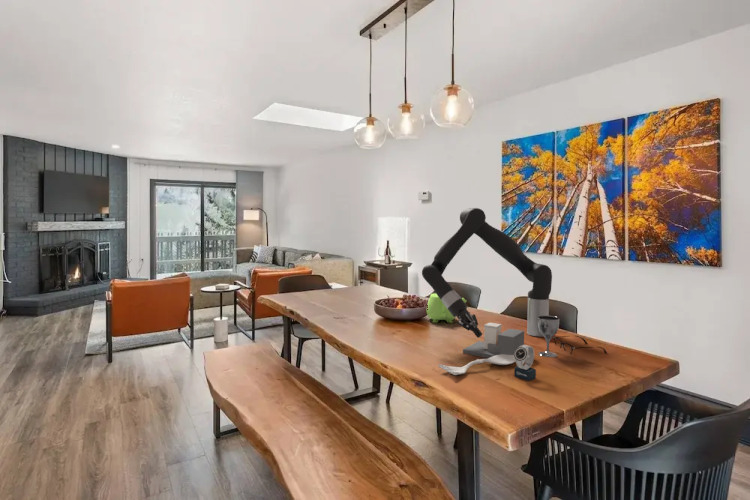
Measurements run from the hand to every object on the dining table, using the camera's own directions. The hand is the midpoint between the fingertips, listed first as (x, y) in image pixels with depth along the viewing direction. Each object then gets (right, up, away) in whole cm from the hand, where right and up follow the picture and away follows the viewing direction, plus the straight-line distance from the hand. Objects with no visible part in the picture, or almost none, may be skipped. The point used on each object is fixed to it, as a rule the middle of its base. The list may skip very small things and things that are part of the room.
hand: (480, 336), depth 175 cm
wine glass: (+26, -6, -5) cm, 27 cm away
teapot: (-5, -2, +56) cm, 56 cm away
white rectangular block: (+4, -4, -3) cm, 7 cm away
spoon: (-5, -8, -21) cm, 23 cm away
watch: (+8, -8, -30) cm, 32 cm away
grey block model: (+5, -6, -3) cm, 8 cm away
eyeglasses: (+42, -6, +3) cm, 43 cm away
